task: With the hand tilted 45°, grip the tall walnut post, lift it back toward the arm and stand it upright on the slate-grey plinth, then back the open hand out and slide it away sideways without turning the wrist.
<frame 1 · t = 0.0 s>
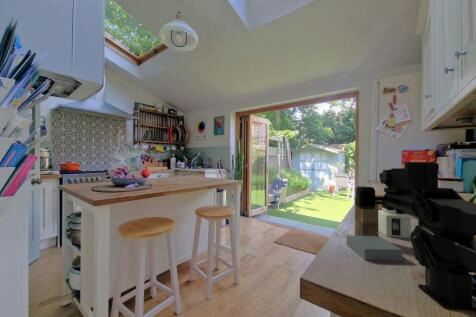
hand: (376, 193, 66), 17 cm above the counter, tool horizontal, fingers open, 9 cm apart
post: (366, 240, 70), on the counter
container: (392, 234, 77), on the counter
plinth: (372, 252, 61), on the counter
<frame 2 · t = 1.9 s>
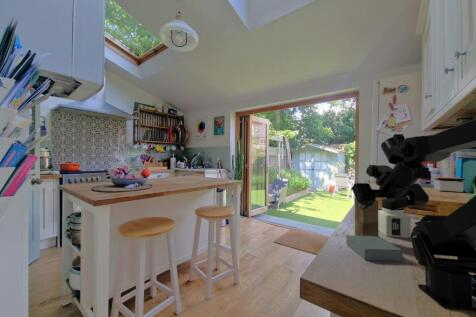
hand: (375, 209, 65), 12 cm above the counter, tool tilted 45°, fingers open, 9 cm apart
nothing on the counter moved.
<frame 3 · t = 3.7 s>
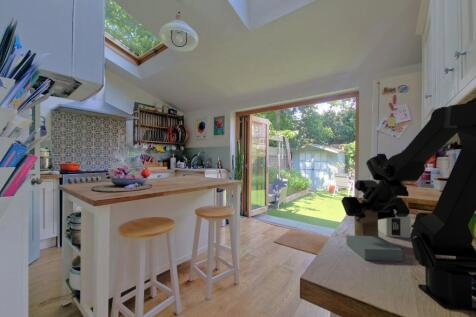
hand: (363, 219, 72), 7 cm above the counter, tool tilted 45°, fingers closed on post, 5 cm apart
post: (366, 239, 70), on the counter, touching gripper
everything else where it was.
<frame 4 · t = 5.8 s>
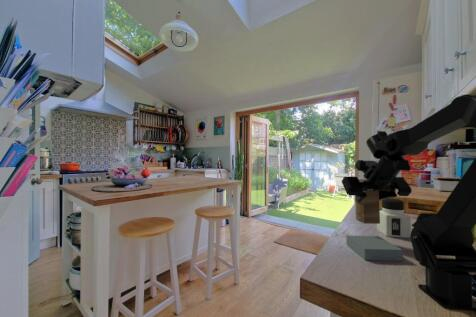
hand: (364, 201, 70), 13 cm above the counter, tool tilted 45°, fingers closed on post, 5 cm apart
post: (367, 221, 69), point 7 cm above the counter, touching gripper
everything else where it was.
when the fingers open (10 cm above the counter, at t = 7.6 s): post stays where it is, resting on plinth.
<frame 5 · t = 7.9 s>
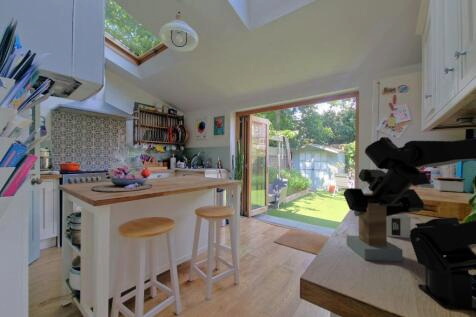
hand: (369, 215, 62), 11 cm above the counter, tool tilted 45°, fingers open, 8 cm apart
post: (372, 242, 61), point 3 cm above the counter, touching plinth
everything else where it was.
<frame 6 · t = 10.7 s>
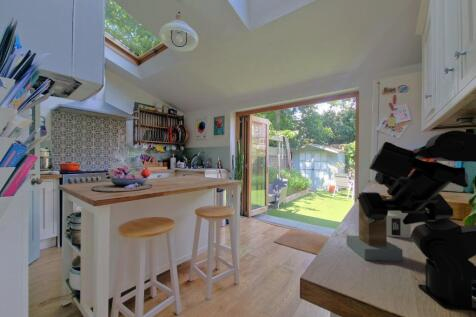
hand: (386, 222, 55), 11 cm above the counter, tool tilted 45°, fingers open, 9 cm apart
nothing on the counter moved.
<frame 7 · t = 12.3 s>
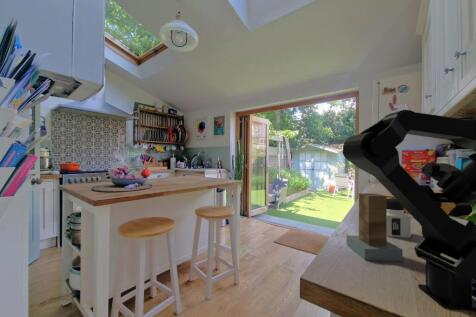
hand: (431, 216, 54), 13 cm above the counter, tool tilted 45°, fingers open, 9 cm apart
nothing on the counter moved.
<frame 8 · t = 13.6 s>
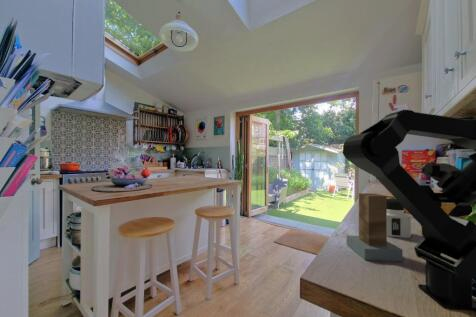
hand: (431, 216, 54), 13 cm above the counter, tool tilted 45°, fingers open, 9 cm apart
nothing on the counter moved.
at the end: post 0.1 cm off-centre on the plinth, point 3.0 cm above the plinth's base; post tilted 0°; the gripper is holding nothing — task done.
